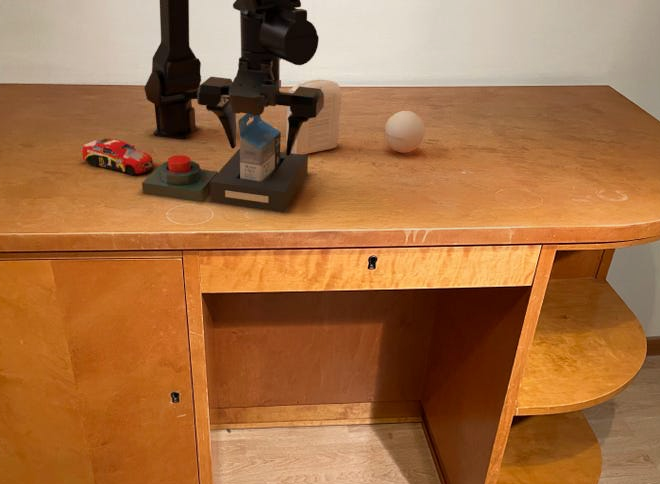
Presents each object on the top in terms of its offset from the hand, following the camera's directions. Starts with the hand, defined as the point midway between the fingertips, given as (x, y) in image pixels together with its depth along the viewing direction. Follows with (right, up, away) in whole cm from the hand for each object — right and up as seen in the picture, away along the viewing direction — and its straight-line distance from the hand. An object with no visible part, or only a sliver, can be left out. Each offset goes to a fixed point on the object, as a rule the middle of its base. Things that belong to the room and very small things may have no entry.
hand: (260, 151), depth 113 cm
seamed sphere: (+24, +5, +18) cm, 31 cm away
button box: (-13, -5, +3) cm, 15 cm away
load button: (-13, -3, +1) cm, 14 cm away
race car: (-25, 0, +9) cm, 27 cm away
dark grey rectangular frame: (0, -5, +4) cm, 6 cm away
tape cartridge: (0, -5, +4) cm, 7 cm away
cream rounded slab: (+8, +5, +18) cm, 20 cm away
